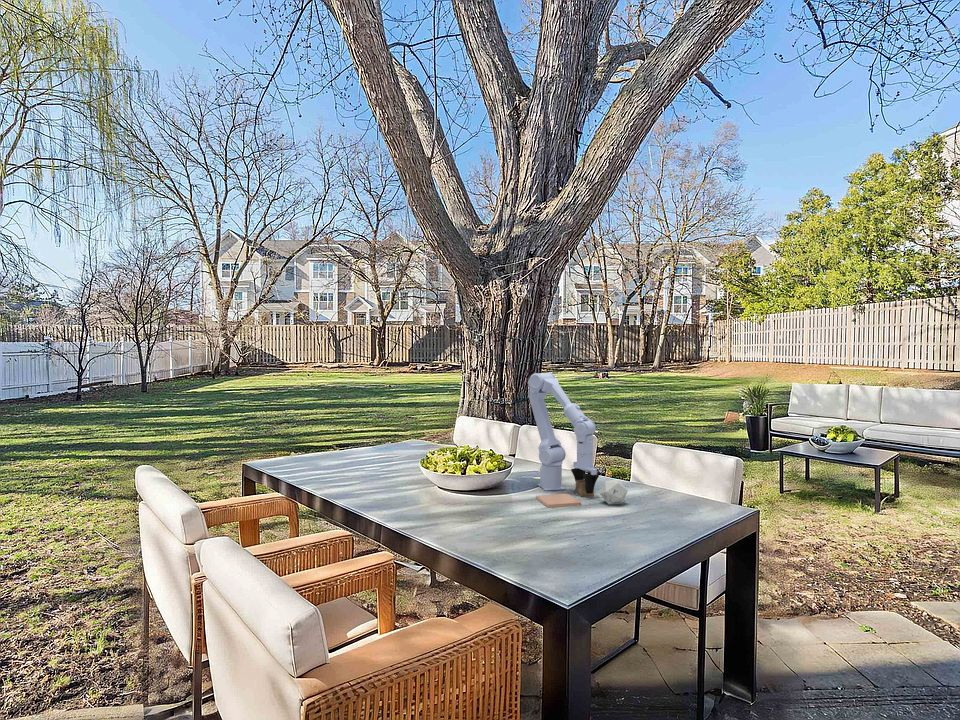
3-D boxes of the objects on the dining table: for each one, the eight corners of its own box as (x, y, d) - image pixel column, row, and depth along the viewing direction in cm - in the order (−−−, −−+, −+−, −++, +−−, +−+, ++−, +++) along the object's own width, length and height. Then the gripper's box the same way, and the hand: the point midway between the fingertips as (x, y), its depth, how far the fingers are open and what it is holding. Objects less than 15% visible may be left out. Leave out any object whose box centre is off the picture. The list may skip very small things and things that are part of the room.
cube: (575, 493, 213) (575, 480, 213) (588, 492, 214) (588, 479, 214) (581, 497, 208) (581, 483, 208) (593, 496, 209) (593, 482, 209)
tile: (536, 498, 206) (536, 495, 206) (567, 496, 209) (567, 493, 209) (547, 507, 194) (547, 504, 194) (581, 505, 197) (581, 502, 197)
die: (595, 504, 200) (603, 486, 194) (601, 487, 207) (609, 469, 201) (618, 514, 198) (626, 496, 193) (623, 497, 205) (632, 479, 199)
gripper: (566, 450, 217) (565, 486, 217) (584, 457, 203) (584, 496, 203) (583, 449, 219) (582, 485, 219) (602, 456, 205) (602, 494, 205)
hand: (584, 490), depth 211 cm, fingers open, 7 cm apart
